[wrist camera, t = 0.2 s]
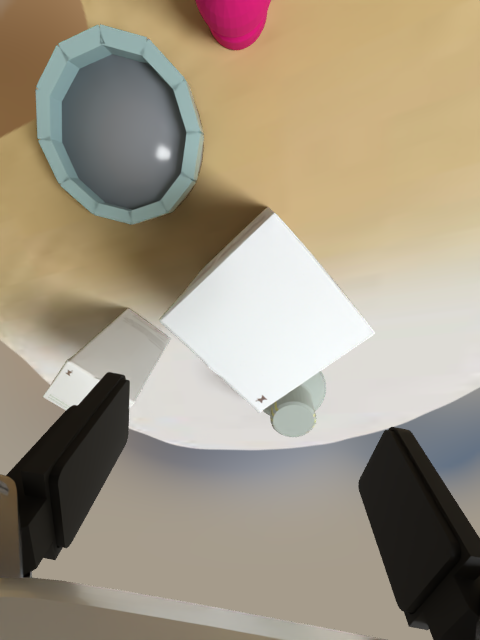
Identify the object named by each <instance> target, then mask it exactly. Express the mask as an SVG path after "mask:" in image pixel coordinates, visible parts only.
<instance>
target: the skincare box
mask: <svg viewBox="0 0 480 640" xmlns="http://www.w3.org/2000/svg"><path fill="white" fill-rule="evenodd" d="M169 341H170V338H169V337H168V336H166V335H165V334H164V333H162V332H161V331H159V330H158V329H157V328H155V327H154V326H153V325H151V324H150V323H149V322H147V321H146V320H144V319H143V318H142V317H140V316H139V315H137V314H136V313H135V312H133V311H132V310H131V309H129V308H128V309H126V310H125V311H124V312H123V313H122V314H121V315H119V316H118V317H117V318H116V319H115V320H114V321H113V322H112V323H110V324H109V325H108V326H107V327H106V328H105V329H104V330H102V331H101V332H100V333H99V334H98V335H97V336H96V337H94V338H93V339H92V340H91V341H90V342H89V343H88V344H86V345H85V346H84V347H83V348H82V349H81V350H80V351H78V352H77V353H76V354H75V355H74V356H72V357H71V358H69V359H68V360H67V361H66V362H65V364H64V365H63V367H62V368H61V370H60V371H59V373H58V374H57V376H56V377H55V379H54V380H53V382H52V384H51V385H50V387H49V388H48V390H47V391H46V393H45V395H44V396H43V397H44V398H45V399H47V400H49V401H51V402H52V403H54V404H56V405H57V406H59V407H61V408H62V409H64V410H67V409H68V408H69V407H71V406H73V405H77V406H78V405H79V403H80V402H81V401H82V400H83V399H84V398H85V397H86V396H87V394H88V393H89V392H90V391H91V390H92V389H93V388H94V387H95V385H96V384H97V383H98V382H99V381H100V380H101V379H102V378H103V376H104V375H105V374H106V373H107V372H112V373H117V374H122V375H125V377H126V380H129V381H130V395H129V408H130V407H131V406H132V405H133V404H134V402H135V401H136V399H137V397H138V395H139V393H140V392H141V390H142V388H143V387H144V385H145V383H146V381H147V380H148V378H149V376H150V374H151V373H152V371H153V369H154V367H155V366H156V364H157V362H158V360H159V359H160V357H161V355H162V354H163V352H164V350H165V348H166V347H167V345H168V343H169Z"/></svg>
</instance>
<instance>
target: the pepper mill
mask: <svg viewBox="0 0 480 640" xmlns="http://www.w3.org/2000/svg"><path fill="white" fill-rule="evenodd" d="M195 1H196V4H197V7H198V10H199V12H200V14H201V16H202V17H203V19H204V21H205V22H206V23H207V25H208V26H209V28H210V31H211V33H212V35H213V36H214V38H215V39H216V40H217V41H218V42H219V43H220V44H221V45H222V46H224V47H226V48H228V49H232V50H241V49H244V48H246V47H248V46H250V45H251V44H252V43H254V42H255V41H256V39H257V38H258V37H259V36H260V34H261V32H262V30H263V28H264V25H265V22H266V17H267V10H268V7H269V4H270V2H271V0H195Z"/></svg>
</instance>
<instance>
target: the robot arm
mask: <svg viewBox="0 0 480 640" xmlns="http://www.w3.org/2000/svg"><path fill="white" fill-rule="evenodd" d="M129 395H130V381H129V380H126V377H125V375H122V374H117V373H112V372H107V373H106V374H105V375H104V376H103V378H102V379H101V380H100V381H99V382H98V383H97V384H96V385H95V387H94V388H93V389H92V390H91V391H90V392H89V393H88V394H87V396H86V397H85V398H84V399H83V400H82V401H81V402H80V403H79V405H78V406H77V405H73V406H71V407H69V408H68V409H67V410H66V411H65V412H64V413H63V414H62V416H61V417H60V418H59V419H58V420H57V421H56V422H55V423H54V424H53V425H52V426H51V427H50V429H49V430H48V431H47V432H46V433H45V434H44V435H43V436H42V437H41V439H40V440H39V441H38V442H37V443H36V444H35V445H34V446H33V447H32V448H31V449H30V451H28V453H27V454H26V455H25V456H24V457H23V458H22V459H21V460H20V461H19V462H18V464H16V465H15V467H14V468H13V469H12V470H11V471H10V472H9V473H8V474H7V475H6V476H5V475H0V640H385V639H380V638H375V637H369V636H365V635H359V634H354V633H349V632H344V631H339V630H334V629H329V628H323V627H318V626H313V625H308V624H302V623H297V622H292V621H286V620H281V619H276V618H270V617H265V616H259V615H254V614H248V613H243V612H238V611H232V610H227V609H222V608H216V607H211V606H206V605H200V604H195V603H189V602H183V601H178V600H173V599H167V598H161V597H156V596H150V595H144V594H139V593H133V592H128V591H122V590H117V589H110V588H103V587H98V586H91V585H85V584H79V583H73V582H66V581H58V580H48V579H38V578H32V571H33V570H34V569H36V568H37V567H38V565H39V563H40V562H41V560H42V559H43V558H47V559H53V560H56V558H57V556H58V554H59V553H60V551H61V549H62V547H64V548H67V547H69V545H70V544H71V542H72V541H73V539H74V537H75V535H76V534H77V532H78V530H79V528H80V526H81V524H82V523H83V521H84V519H85V517H86V516H87V514H88V512H89V510H90V508H91V506H92V505H93V503H94V501H95V499H96V497H97V496H98V494H99V492H100V490H101V488H102V487H103V485H104V483H105V481H106V479H107V477H108V476H109V474H110V472H111V470H112V468H113V467H114V465H115V463H116V461H117V459H118V457H119V455H120V454H121V452H122V450H123V448H124V446H125V445H126V442H127V439H128V426H129ZM359 492H360V494H361V497H362V500H363V503H364V506H365V509H366V512H367V515H368V518H369V521H370V524H371V527H372V530H373V533H374V536H375V539H376V542H377V545H378V548H379V551H380V554H381V557H382V560H383V563H384V566H385V569H386V572H387V575H388V578H389V581H390V584H391V587H392V590H393V593H394V596H395V599H396V602H397V604H398V606H399V608H400V609H401V610H402V611H404V613H405V616H406V619H407V622H408V625H409V626H410V627H414V628H420V629H425V630H428V629H430V632H431V634H432V637H433V639H434V640H480V538H479V537H478V535H477V534H476V532H475V530H474V529H473V527H472V526H471V524H470V523H469V521H468V519H467V518H466V516H465V515H464V513H463V512H462V510H461V509H460V507H459V506H458V504H457V502H456V501H455V499H454V498H453V496H452V495H451V493H450V491H449V490H448V488H447V487H446V485H445V484H444V482H443V481H442V479H441V478H440V476H439V474H438V473H437V472H436V470H435V468H434V467H433V465H432V463H431V462H430V460H429V459H428V457H427V456H426V455H425V453H424V451H423V449H422V448H421V446H420V445H419V444H418V442H417V440H416V439H415V437H414V435H413V434H412V433H411V432H410V431H409V430H406V429H401V428H395V427H391V428H389V430H385V431H384V433H383V435H382V437H381V439H380V440H379V442H378V444H377V446H376V448H375V450H374V452H373V454H372V456H371V458H370V460H369V462H368V464H367V466H366V468H365V470H364V472H363V474H362V476H361V477H360V480H359Z"/></svg>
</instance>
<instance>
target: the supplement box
mask: <svg viewBox="0 0 480 640" xmlns="http://www.w3.org/2000/svg"><path fill="white" fill-rule="evenodd" d="M160 322H161V323H162V324H163V325H164V326H165V327H166V328H167V329H168V330H169V331H170V332H172V333H173V334H174V335H175V336H176V337H177V338H178V339H179V340H180V341H181V342H182V343H184V344H185V345H186V346H187V347H188V348H189V349H190V350H191V351H192V352H193V353H195V354H196V355H197V356H198V357H199V358H200V359H201V360H202V361H203V362H204V363H205V364H206V365H207V366H208V367H209V368H210V369H211V370H212V371H213V372H214V373H216V374H217V375H218V376H220V377H221V378H222V379H223V380H224V381H225V382H226V383H227V384H228V385H229V386H230V387H231V388H233V389H234V390H235V391H236V392H237V393H238V394H239V395H240V396H241V397H242V398H243V399H244V400H246V401H247V402H248V403H249V404H250V405H251V406H252V407H253V408H254V409H255V410H256V411H257V412H259V413H260V412H261V411H262V410H264V409H265V408H267V407H268V406H270V405H271V404H273V403H274V402H276V401H277V400H279V399H280V398H282V397H283V396H284V395H286V394H287V393H289V392H290V391H292V390H293V389H295V388H296V387H298V386H299V385H301V384H302V383H304V382H305V381H307V380H308V379H309V378H311V377H312V376H314V375H315V374H317V373H318V372H320V371H321V370H323V369H324V368H326V367H327V366H328V365H330V364H331V363H333V362H334V361H336V360H337V359H339V358H340V357H342V356H343V355H344V354H346V353H347V352H349V351H350V350H352V349H353V348H355V347H356V346H358V345H359V344H360V343H362V342H363V341H365V340H366V339H368V338H369V337H371V336H372V335H374V334H375V332H374V331H373V329H372V328H371V326H370V325H369V324H368V323H367V321H366V320H365V319H364V317H363V316H362V315H361V314H360V312H359V311H358V310H357V308H356V307H355V306H354V305H353V303H352V302H351V301H350V300H349V298H348V297H347V296H346V295H345V293H344V292H343V291H342V290H341V288H340V287H339V286H338V285H337V283H336V282H335V281H334V280H333V278H332V277H331V276H330V275H329V274H328V273H327V271H326V270H325V269H324V268H323V267H322V265H321V264H320V263H319V262H318V261H317V259H316V258H315V257H314V256H313V255H312V253H311V252H310V251H309V250H308V249H307V248H306V247H305V245H304V244H303V243H302V242H301V241H300V240H299V239H298V237H297V236H296V235H295V234H294V233H293V232H292V231H291V230H290V228H289V227H288V226H287V225H286V224H285V223H284V222H283V221H282V220H281V219H280V218H279V216H278V215H277V214H276V213H274V212H273V211H272V210H271V209H270V208H269V207H267V208H266V209H265V210H263V211H262V212H261V213H260V214H259V215H258V216H257V217H256V218H255V219H254V220H253V221H252V222H251V223H250V224H249V225H248V226H246V227H245V228H244V229H243V230H242V231H241V232H240V233H239V234H238V235H237V236H236V237H235V238H234V239H233V240H232V241H231V242H230V243H229V244H228V245H227V246H226V247H225V248H223V249H222V250H221V251H220V252H219V253H218V254H217V255H216V256H215V257H214V258H213V259H212V260H211V261H210V262H209V263H208V264H207V265H206V266H205V267H204V268H203V269H202V270H201V271H200V272H199V273H198V275H197V276H196V277H195V279H194V280H193V281H192V282H191V283H190V285H189V286H188V287H187V288H186V289H185V290H184V292H183V293H182V294H181V295H180V296H179V297H178V299H177V300H176V301H175V302H174V303H173V304H172V306H171V307H170V308H169V309H168V310H167V311H166V312H165V313H164V315H163V316H162V317H161V318H160Z"/></svg>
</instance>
